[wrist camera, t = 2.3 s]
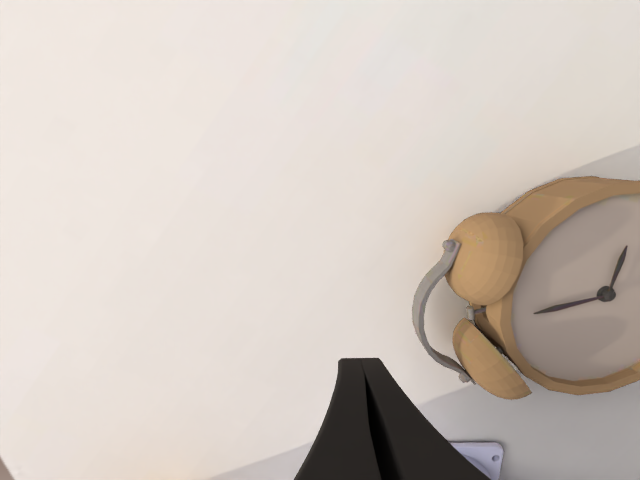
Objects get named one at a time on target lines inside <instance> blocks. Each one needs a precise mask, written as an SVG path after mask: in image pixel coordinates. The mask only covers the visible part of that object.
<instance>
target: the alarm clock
mask: <svg viewBox="0 0 640 480" xmlns="http://www.w3.org/2000/svg"><path fill="white" fill-rule="evenodd" d="M443 248H444V249H445V250H444V254H443V256H442V258H441V260H440V261H439V262H438V263H437V264H436V265H435V266H434V267H433V268H432V269H431V270H430V271H429V272H428V273H427V274H426V275H425V277H424V278H423V280H422V281H421V283H420V284H419V286H418V288H417V291H416V293H415V295H414V301H413V307H412V319H413V325H414V328H415V332H416V334H417V336H418V338H419V340H420V342H421V343H422V345H423V346H424V348H425V349H426V351H427V352H428V354H429V355H430V356H431V357H432V358H433V359H434V360H435V361H436V362H438V363H440V364H441V365H443V366H445V367H447V368H450V369H453V370H455V371H456V372H458V373H460V375H459V378H460V379H461V381H462V382H463V383H464V382H469V381H470V380H471V382H472V383H473V384H474V385H475V384H476V383H475V382H477V383H478V384H479V385H480V386H481V387H482V388H484V389H485V390H487V391H488V392H490V393H491V394H493V395H495V396H497V397H501V398H504V399H511V400H512V399H520V398H523V397H526V396H527V395H529V394H531V393H532V392H531V390H530V389H529V387H528V386H527V385H526V383H525V382H524V381H523V380H522V378H521V377H520V376H519V375H518V373H517V372H516V371H515V370H514V369H513V367H512V366H511V365H510V364H509V363H508V362H507V360H506V359H505V358H504V357H503V356H502V355H501V354H502V353H503V354H504V355H505V356H506V357H507V358H508V359H509V360H510V361H511V362H512V363H514V364H515V365H516V366H517V368H518V369H519V370H520V372H521V373H522V374H523V375H524V376H526V377H528V378H529V379H531V380H533V381H534V382H536V383H538V384H540V385H541V386H543V387H545V388H547V389H548V390H552V391H558V392H563V393H569V394H574V395H584V394H593V393H601V392H609V391H612V390H615V389H617V388H620V387H623V386H625V385H628V384H630V383H633V382H636V381H638V380H640V181H630V180H617V179H605V178H599V177H594V176H588V177H575V178H561V179H558V180H555V181H553V182H550V183H548V184H545V185H543V186H540V187H538V188H535V189H533V190H530V191H528V192H527V193H526V194H524V195H523V196H522V197H520V198H519V199H518V200H517V201H515V202H514V203H513V204H511V205H510V206H509V207H508V208H506V209H505V210H504V211H502V212H501V213H479V214H476V215H473V216H471V217H469V218H467V219H465V220H464V221H463V222H462V223H460V224H459V225H458V226H457V227H456V228H455V229H454V230H453V232H452V233H451V235H450V237H449V239H448V240H446V241H444V242H443ZM444 275H445V277H446V280H447V282H448V284H449V285H450V287H451V288H452V289H453V291H454V292H455V293H456V294H457V295H458V296H460V297H462V298H464V299H465V300H467V301H469V304H470V306H468V307H467V316H468V319H469V320H474V321H475V323H476V325H477V326H478V327H479V329H480V330H481V331H482V332H483V334H484V335H485V336H486V337H485V336H484V335H483V334H482V333H481V332H480V331H479V330H478V329H477V328H476V327H475V326H474V325H473V324H472V323H471V322H469V321H468V320H467V319H466V318H463V319H462V320H461V321H460V322H459V323H458V325H457V326H456V328H455V330H454V332H453V346H454V350H455V353H456V355H457V357H458V359H459V361H460V363H461V365H462V366H463V368H464V369H465V370H464V369H463V368H462V367H461V366H460V365H459V364H458V363H457V362H456V361H454V360H453V359H451V358H450V357H448V356H445V355H442V354H440V353H439V352H437V351H435V350H434V349H433V348H432V347H431V346H430V345H429V343H428V342H427V338H426V335H425V331H424V312H425V306H426V302H427V300H428V297H429V295H430V293H431V291H432V290H433V288H434V287H435V285H436V284H437V282H438V281H439V280H440V279H441V278H442V277H443V276H444ZM487 339H488V340H489V341H488V340H487ZM494 346H495V347H497V348H495V347H494ZM473 380H474V381H475V382H474V381H473Z"/></svg>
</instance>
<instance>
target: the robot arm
mask: <svg viewBox="0 0 640 480" xmlns="http://www.w3.org/2000/svg"><path fill="white" fill-rule="evenodd" d="M503 453H504V450H503V448H502V446H501V445H500V444H499V443H496V442H469V443H449V442H448V441H447V440H446V439H445V438H444V437H443V436H442V435H441V434H440V433H439V432H438V431H437V430H436V429H435V428H434V427H433V426H432V424H431V423H430V422H429V421H428V420H427V419H426V418H425V417H424V416H423V415H422V413H421V412H420V411H419V410H418V409H417V408H416V406H415V405H414V404H413V403H412V402H411V400H410V399H409V398H408V397H407V395H406V394H405V393H404V392H403V390H402V389H401V388H400V387H399V385H398V384H397V383H396V381H395V380H394V378H393V377H392V376H391V374H390V373H389V371H388V370H387V369H386V367H385V366H384V364H383V363H382V361H381V360H380V359H379V358H342V359H340V360H339V361H338V375H337V380H336V385H335V389H334V392H333V395H332V399H331V402H330V405H329V408H328V410H327V413H326V416H325V418H324V421H323V423H322V426H321V428H320V430H319V433H318V435H317V437H316V439H315V441H314V443H313V445H312V447H311V449H310V451H309V453H308V455H307V457H306V459H305V461H304V463H303V464H302V466H301V468H300V470H299V472H298V473H297V475H296V477H295V478H294V480H499V475H500V470H501V464H502V458H503Z"/></svg>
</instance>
